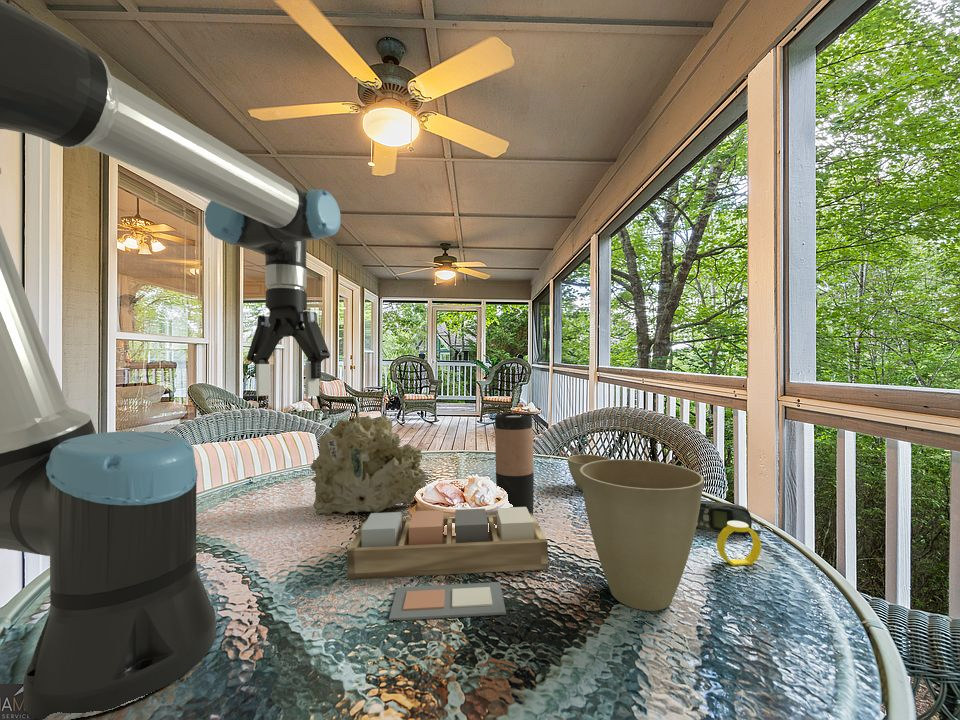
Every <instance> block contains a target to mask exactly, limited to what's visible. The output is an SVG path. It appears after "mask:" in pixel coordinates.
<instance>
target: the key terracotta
mask: <svg viewBox="0 0 960 720" xmlns="http://www.w3.org/2000/svg"><path fill="white" fill-rule="evenodd" d="M444 517H445V516H444V510H442V509H441V510H421V511H420V510H419V511H418V510H416V511H412V516H411V517H410V518H411V522H410V525H409V545H427V544H443V532H444Z"/></svg>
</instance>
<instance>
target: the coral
mask: <svg viewBox="0 0 960 720" xmlns="http://www.w3.org/2000/svg"><path fill="white" fill-rule="evenodd" d="M318 443H319V448H318V452H319V455H318V456H317V457H316V458H315V459H313V460H312V462H313V463H311V465H310V469H311V470H312V471H313V472H314V473H315V476H314V477H312V478H310V479H309V480H310V481H312V482H313V483H315V488H314V493H315V499H314V501H313V504H312V507H313V508H314V510H315V513H316V514H317V515H319V514H327V515H331V514H333V512H335V511H337V513H339V514H344V515H346V514H348V513H350V512H355V513H354V514H357V513H359V512H373V513H381V512H382V511H384V510H385V509H387V508H388V509H390V508H392V507H394V506H397V505H398V504H403V506H406V505H410V504H412V503H411V501H412V500H413V499H414V496H415V494H416V492H417V491H418V490H419V489H421V488H423V487H425V486H428V485H427V483H426V481H427V480H429V477H428V474H426V472H424V470H422V469H421V468H420V467H421V460H423V454H422V448H423V447H415V446H414V445H411V444H410V443H407V444H404V445H402V446H401V445H400V444H401V443H402V441H401V438H400V434H398V433H395V432H393V421H392V420H390V419H389V418H388V416H387V415H382V416H380V417H378V418H372V417H371V416H370V415H366V416H355V417H354V418H353V420H351V421H350V420H349V419H345V418H342V419H338V421H337V422H336V424H335V427H331V428H330V429H329V433H328V432H327V433H325V434H324V435H321V437H320V439H319V440H318Z"/></svg>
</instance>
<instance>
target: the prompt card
mask: <svg viewBox="0 0 960 720" xmlns="http://www.w3.org/2000/svg"><path fill="white" fill-rule="evenodd" d="M506 610H507V609H506V607H505V601H504V596H503V591H502V586H501V582H500V581H495V582H475V583H457V584H436V585H417V586H416V585H415V586H398V587H396V590H395V594H394V598H393V601H392V606H391V610H390V612H389V617H388V622H394V621H393V620H397V621H398V620H399V621H415V620H430V619H431V620H433V619H447V618H448V619H449V618H467V617H468V618H469V617H484V616H501V615H503V616H504V615H505V616H506V615H507V611H506ZM397 621H396V622H397Z"/></svg>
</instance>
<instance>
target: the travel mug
mask: <svg viewBox="0 0 960 720" xmlns="http://www.w3.org/2000/svg"><path fill="white" fill-rule="evenodd" d="M494 433H495V434H494V437H495V438H494V440H495V441H494V444H495V483H496V484H495V486H496V485H497V486H499V487H501V488H503V489H504V490H505V491H506V492H507V494H508V501H509V503H510V504H512V505H513V507H527V509H528V511H529V513H533V514H534V482H535V481H534V480H535V479H534V477H535V475H534V472H535V470H534V466H535V465H534V441H533V439H534V438H533V415H532V414H530V413H525V414H524V415H518V414H517V413H516V412H515V413H514V412H504V413H497V414H495V415H494Z"/></svg>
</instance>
